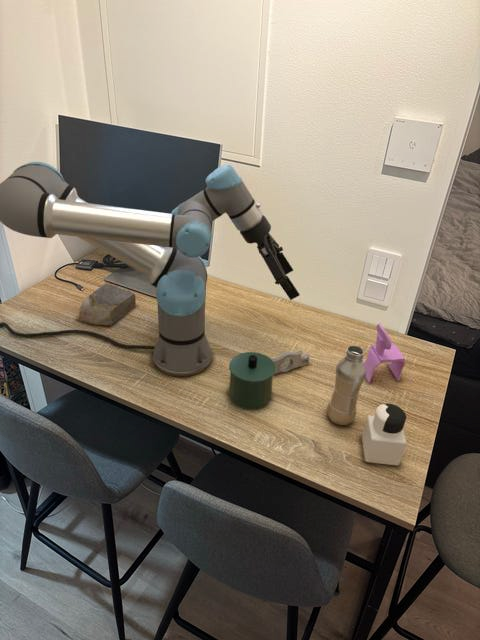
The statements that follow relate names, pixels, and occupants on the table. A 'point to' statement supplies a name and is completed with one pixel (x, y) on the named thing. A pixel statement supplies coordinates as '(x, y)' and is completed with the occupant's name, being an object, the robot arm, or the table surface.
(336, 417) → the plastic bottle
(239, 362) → the pot lid
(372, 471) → the table surface
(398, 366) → the toy chair
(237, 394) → the pot
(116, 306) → the geological specimen
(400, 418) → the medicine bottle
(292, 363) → the lattice window wall
